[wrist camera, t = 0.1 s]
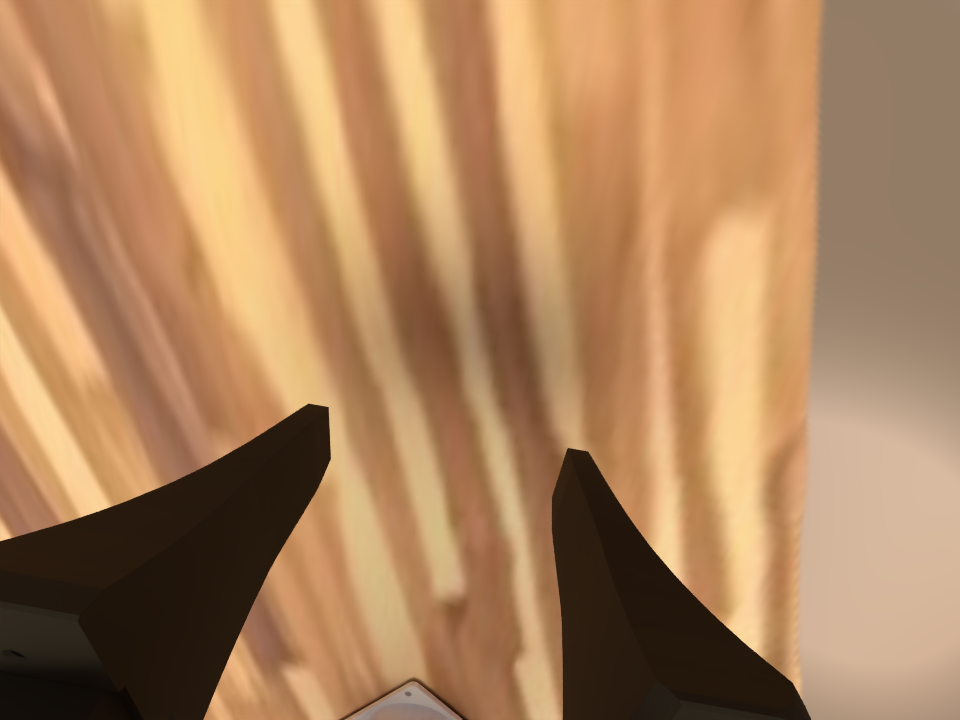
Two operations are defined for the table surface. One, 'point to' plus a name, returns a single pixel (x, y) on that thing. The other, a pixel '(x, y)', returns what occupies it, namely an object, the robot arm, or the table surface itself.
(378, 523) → the table surface
